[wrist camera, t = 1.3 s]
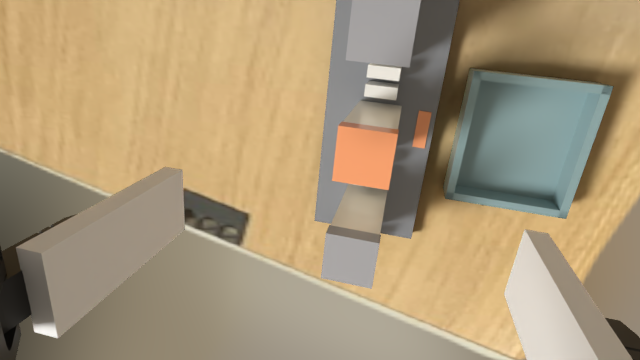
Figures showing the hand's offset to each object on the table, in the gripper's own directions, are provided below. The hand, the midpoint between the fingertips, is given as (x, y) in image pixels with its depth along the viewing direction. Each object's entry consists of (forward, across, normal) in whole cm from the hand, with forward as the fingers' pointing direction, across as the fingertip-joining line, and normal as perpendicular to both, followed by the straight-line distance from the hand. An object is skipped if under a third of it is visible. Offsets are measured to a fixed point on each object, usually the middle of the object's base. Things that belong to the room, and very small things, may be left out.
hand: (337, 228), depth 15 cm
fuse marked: (+19, 0, 0) cm, 19 cm away
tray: (+20, +11, 0) cm, 23 cm away
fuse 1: (+19, 0, +7) cm, 21 cm away
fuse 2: (+19, 0, -7) cm, 21 cm away
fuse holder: (+20, 0, 0) cm, 20 cm away
